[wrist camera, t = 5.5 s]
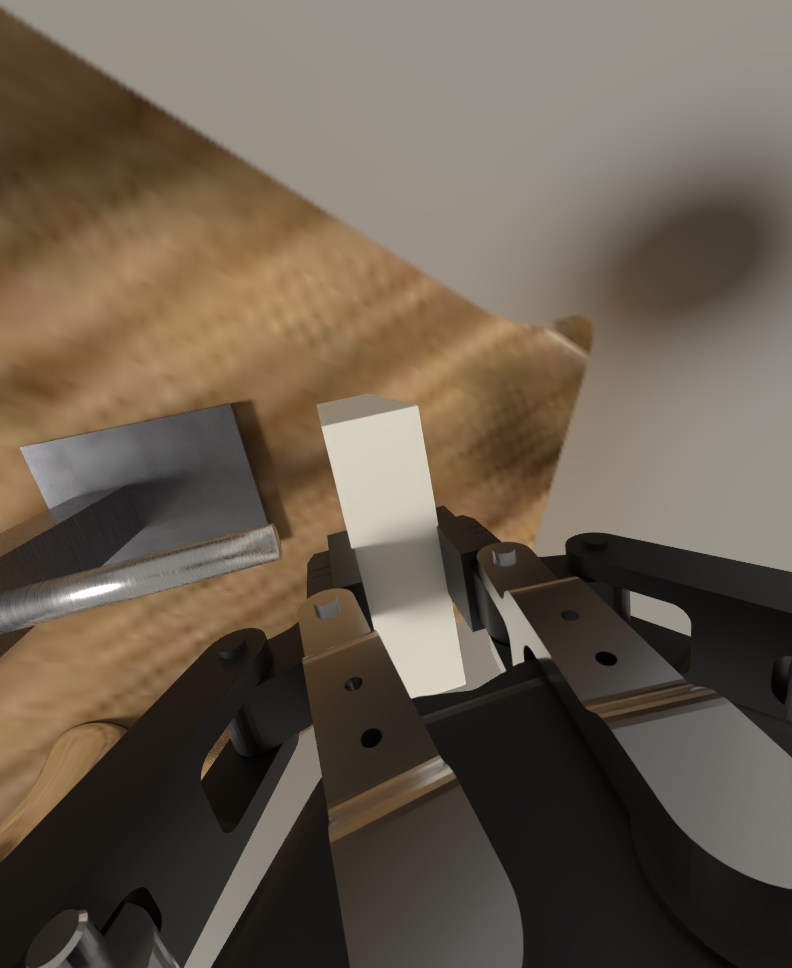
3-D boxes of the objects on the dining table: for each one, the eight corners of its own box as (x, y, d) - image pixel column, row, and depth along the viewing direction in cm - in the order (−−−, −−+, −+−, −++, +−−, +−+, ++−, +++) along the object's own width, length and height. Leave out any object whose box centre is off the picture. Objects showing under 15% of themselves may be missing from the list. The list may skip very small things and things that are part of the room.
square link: (316, 404, 18) (321, 426, 10) (369, 393, 19) (417, 405, 10) (358, 575, 21) (390, 709, 12) (404, 562, 21) (466, 684, 13)
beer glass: (20, 760, 29) (-258, 1127, 15) (93, 699, 29) (-115, 1009, 15) (101, 805, 31) (-73, 1161, 17) (169, 748, 31) (52, 1057, 17)
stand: (31, 445, 24) (-309, 525, 11) (271, 394, 26) (232, 411, 13) (98, 587, 27) (-106, 788, 14) (310, 532, 29) (310, 660, 16)
